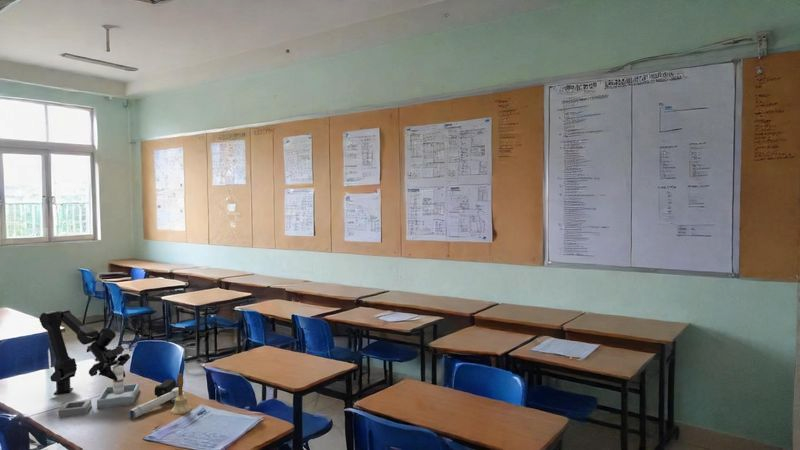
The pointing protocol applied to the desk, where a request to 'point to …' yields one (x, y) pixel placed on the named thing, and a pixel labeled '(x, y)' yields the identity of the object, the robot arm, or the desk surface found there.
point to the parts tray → (118, 396)
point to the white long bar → (154, 403)
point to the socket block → (74, 408)
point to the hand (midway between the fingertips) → (120, 378)
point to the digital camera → (164, 388)
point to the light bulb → (118, 380)
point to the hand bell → (180, 399)
